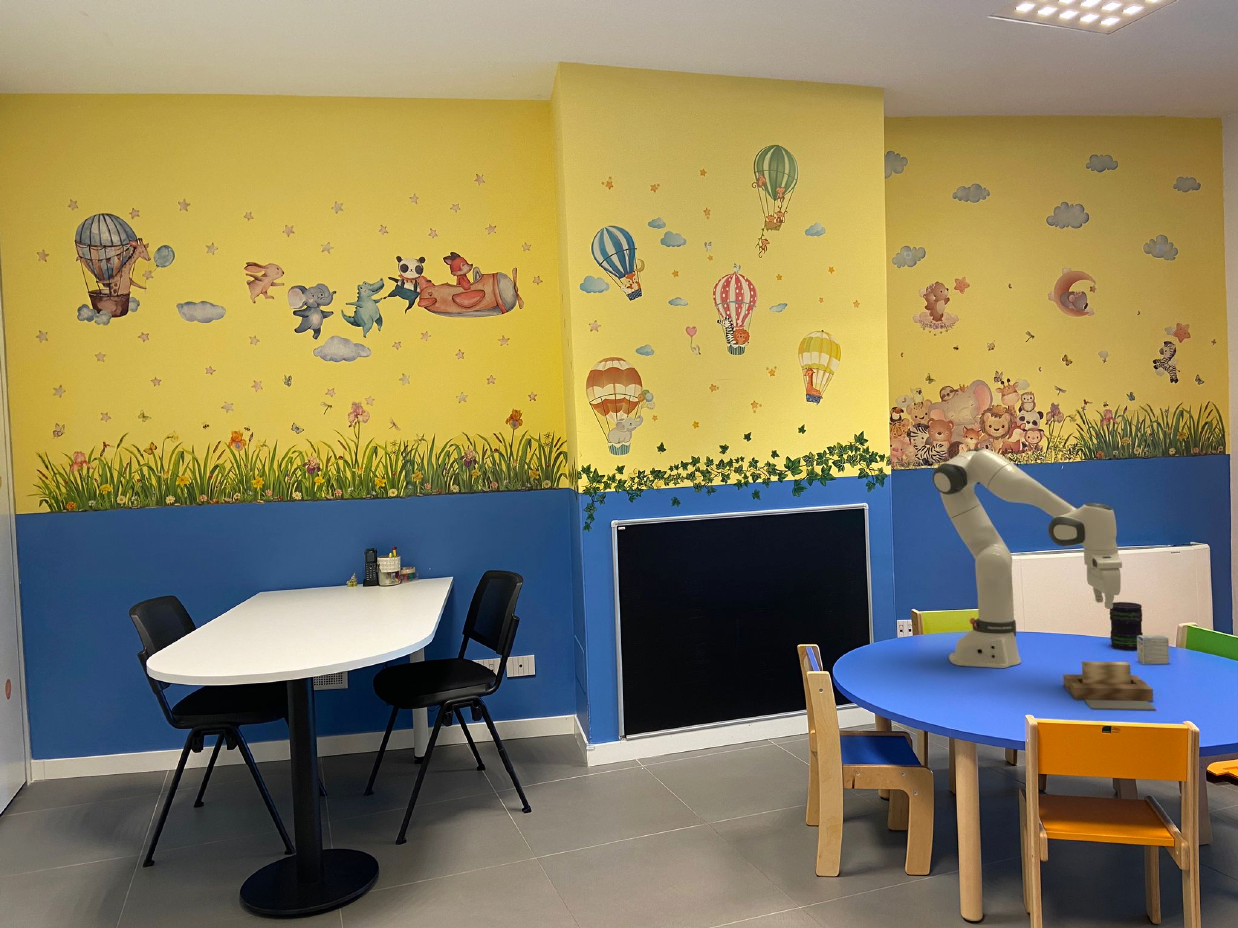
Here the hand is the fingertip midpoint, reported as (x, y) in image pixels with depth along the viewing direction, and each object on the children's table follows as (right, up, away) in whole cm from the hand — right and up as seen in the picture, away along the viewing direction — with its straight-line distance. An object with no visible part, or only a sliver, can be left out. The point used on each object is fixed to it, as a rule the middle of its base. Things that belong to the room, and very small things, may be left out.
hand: (1104, 605), depth 260 cm
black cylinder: (+34, -22, +47) cm, 62 cm away
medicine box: (+31, -23, +27) cm, 47 cm away
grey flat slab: (-3, -26, -13) cm, 29 cm away
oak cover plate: (0, -26, -1) cm, 26 cm away
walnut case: (0, -26, -1) cm, 26 cm away
